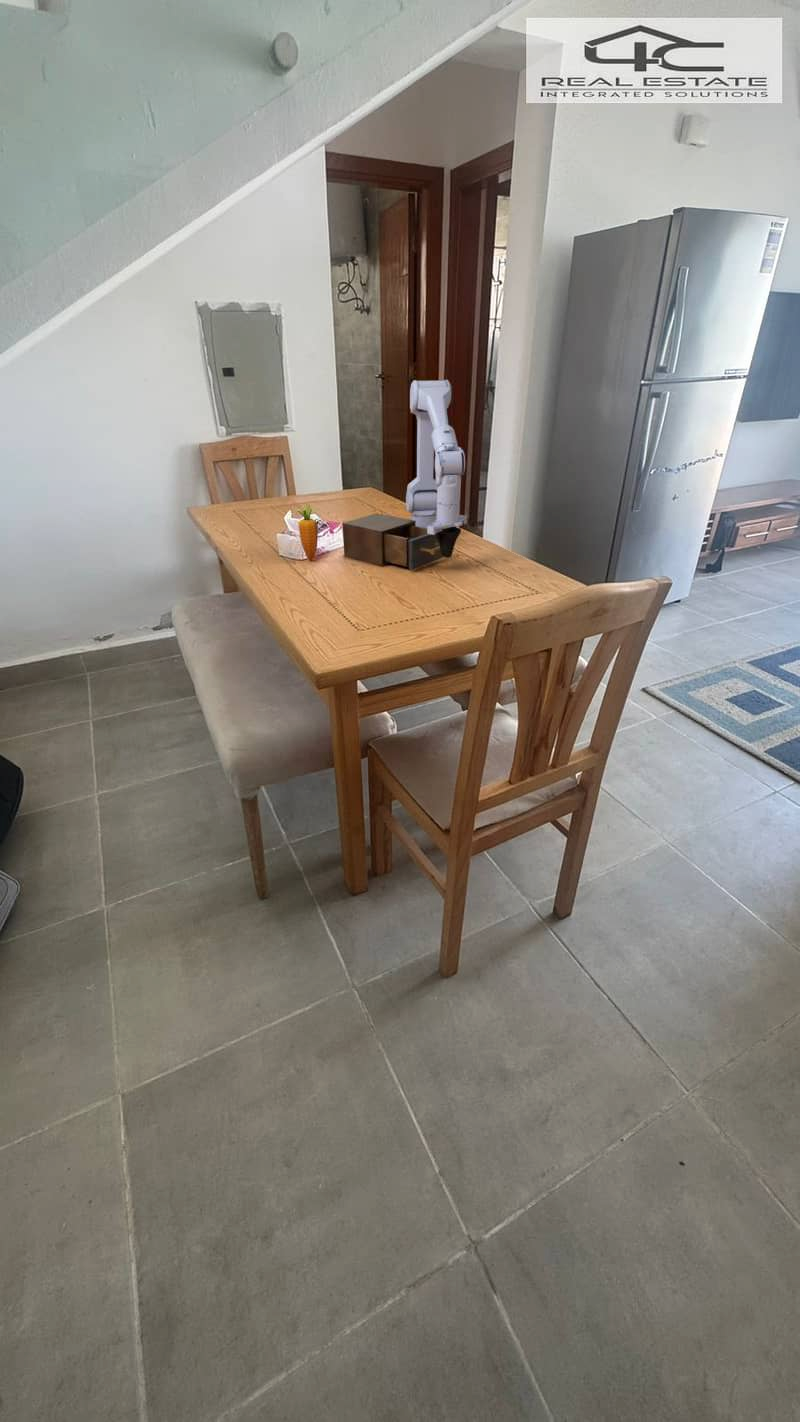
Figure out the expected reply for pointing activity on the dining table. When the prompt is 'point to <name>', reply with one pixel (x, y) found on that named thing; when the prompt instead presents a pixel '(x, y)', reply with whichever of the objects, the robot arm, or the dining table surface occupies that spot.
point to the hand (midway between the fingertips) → (446, 556)
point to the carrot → (308, 533)
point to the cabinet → (370, 536)
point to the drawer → (411, 547)
